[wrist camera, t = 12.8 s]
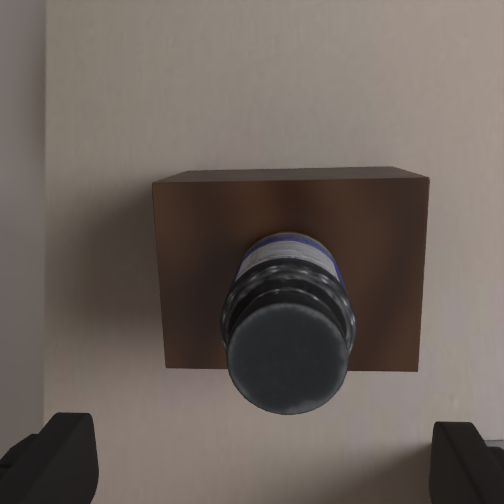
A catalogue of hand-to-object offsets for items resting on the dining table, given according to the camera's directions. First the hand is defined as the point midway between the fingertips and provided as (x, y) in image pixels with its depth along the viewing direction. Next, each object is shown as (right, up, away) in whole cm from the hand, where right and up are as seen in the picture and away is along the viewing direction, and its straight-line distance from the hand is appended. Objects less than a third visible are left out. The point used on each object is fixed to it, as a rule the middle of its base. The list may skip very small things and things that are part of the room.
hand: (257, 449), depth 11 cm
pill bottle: (+2, +3, +18) cm, 18 cm away
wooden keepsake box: (+3, +5, +27) cm, 28 cm away
